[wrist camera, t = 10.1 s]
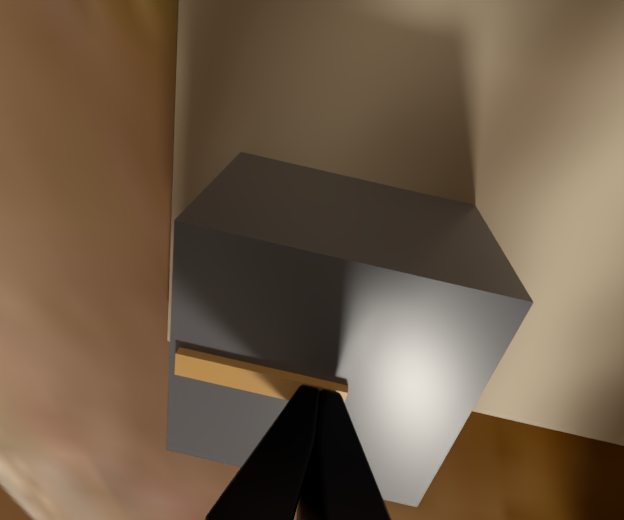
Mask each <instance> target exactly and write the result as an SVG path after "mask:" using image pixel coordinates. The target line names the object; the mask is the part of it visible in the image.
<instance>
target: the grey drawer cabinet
mask: <svg viewBox="0 0 624 520" xmlns="http://www.w3.org/2000/svg"><path fill="white" fill-rule="evenodd" d="M533 303H534V302H533V301H532V299H531V297H530V296H529V294H528V292H527V291H526V289H525V287H524V286H523V284H522V282H521V281H520V279H519V277H518V276H517V274H516V272H515V271H514V269H513V267H512V266H511V264H510V262H509V260H508V259H507V257H506V255H505V254H504V252H503V250H502V249H501V247H500V245H499V244H498V242H497V240H496V239H495V237H494V235H493V234H492V232H491V230H490V229H489V227H488V225H487V224H486V222H485V220H484V219H483V217H482V215H481V214H480V212H479V210H478V209H477V207H476V205H471V204H467V203H463V202H458V201H454V200H449V199H445V198H441V197H436V196H432V195H428V194H423V193H419V192H414V191H410V190H406V189H401V188H397V187H393V186H388V185H384V184H379V183H375V182H371V181H366V180H362V179H358V178H353V177H349V176H344V175H340V174H336V173H331V172H327V171H323V170H318V169H314V168H309V167H305V166H301V165H296V164H292V163H288V162H283V161H279V160H274V159H270V158H266V157H261V156H257V155H253V154H248V153H244V152H240V153H239V154H238V155H237V156H236V157H235V158H234V159H233V160H232V161H231V162H230V163H229V164H228V165H227V166H226V167H225V168H224V170H223V171H222V172H221V173H220V174H219V175H218V176H217V177H216V178H215V179H214V180H213V181H212V182H211V183H210V184H209V185H208V186H207V187H206V188H205V189H204V190H203V191H202V192H201V193H200V194H199V195H198V196H197V197H196V198H195V199H194V200H193V201H192V202H191V204H190V205H189V206H188V207H187V208H186V209H185V210H184V211H183V212H182V213H181V214H180V215H179V216H178V217H177V218H176V219H175V220H174V241H173V269H172V297H171V326H170V354H169V382H168V410H167V438H166V450H169V451H173V452H178V453H182V454H187V455H191V456H195V457H200V458H204V459H208V460H213V461H217V462H222V463H226V464H230V465H235V466H239V467H242V465H243V464H244V463H245V461H246V460H247V459H248V457H249V456H250V454H251V453H252V452H253V450H254V449H255V447H256V446H257V445H258V443H259V442H260V440H261V439H262V438H263V436H264V435H265V433H266V432H267V431H268V429H269V428H270V426H271V425H272V424H273V422H274V421H275V419H276V418H277V417H278V415H279V414H280V412H281V411H282V410H283V408H284V407H285V405H286V404H287V403H288V401H289V400H290V399H291V397H292V396H293V394H294V393H295V392H296V390H297V389H298V387H299V386H300V385H302V384H304V385H309V386H313V387H317V388H319V390H320V391H321V390H322V389H326V390H330V391H335V392H338V393H340V394H341V396H342V398H343V400H344V403H345V405H346V408H347V410H348V413H349V415H350V418H351V420H352V423H353V425H354V428H355V430H356V433H357V435H358V438H359V440H360V443H361V445H362V448H363V450H364V453H365V455H366V458H367V460H368V463H369V465H370V468H371V470H372V473H373V475H374V478H375V480H376V483H377V485H378V488H379V490H380V493H381V495H382V498H383V499H384V500H388V501H392V502H397V503H401V504H406V505H410V506H414V507H417V506H418V504H419V503H420V501H421V499H422V497H423V496H424V494H425V492H426V490H427V489H428V487H429V485H430V483H431V482H432V480H433V478H434V476H435V475H436V473H437V471H438V469H439V467H440V466H441V464H442V462H443V460H444V459H445V457H446V455H447V453H448V452H449V450H450V448H451V446H452V445H453V443H454V441H455V439H456V438H457V436H458V434H459V432H460V431H461V429H462V427H463V425H464V424H465V422H466V420H467V418H468V417H469V415H470V413H471V411H472V410H473V408H474V406H475V404H476V403H477V401H478V399H479V397H480V396H481V394H482V392H483V390H484V389H485V387H486V385H487V383H488V381H489V380H490V378H491V376H492V374H493V373H494V371H495V369H496V367H497V366H498V364H499V362H500V360H501V359H502V357H503V355H504V353H505V352H506V350H507V348H508V346H509V345H510V343H511V341H512V339H513V338H514V336H515V334H516V332H517V331H518V329H519V327H520V325H521V324H522V322H523V320H524V318H525V317H526V315H527V313H528V311H529V310H530V308H531V306H532V304H533Z"/></svg>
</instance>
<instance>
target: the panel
mask: <svg viewBox="0 0 624 520" xmlns="http://www.w3.org/2000/svg"><path fill="white" fill-rule="evenodd" d="M240 152H244V153H248V154H253V155H257V156H261V157H266V158H270V159H274V160H279V161H283V162H288V163H292V164H296V165H301V166H305V167H309V168H314V169H318V170H323V171H327V172H331V173H336V174H340V175H344V176H349V177H353V178H358V179H362V180H366V181H371V182H375V183H379V184H384V185H388V186H393V187H397V188H401V189H406V190H410V191H414V192H419V193H423V194H428V195H432V196H436V197H441V198H445V199H449V200H454V201H458V202H463V203H467V204H471V205H476V207H477V209H478V210H479V212H480V214H481V215H482V217H483V219H484V220H485V222H486V224H487V225H488V227H489V229H490V230H491V232H492V234H493V235H494V237H495V239H496V240H497V242H498V244H499V245H500V247H501V249H502V250H503V252H504V254H505V255H506V257H507V259H508V260H509V262H510V264H511V266H512V267H513V269H514V271H515V272H516V274H517V276H518V277H519V279H520V281H521V282H522V284H523V286H524V287H525V289H526V291H527V292H528V294H529V296H530V297H531V299H532V301H533V302H534V303H533V304H532V306H531V308H530V310H529V311H528V313H527V315H526V317H525V318H524V320H523V322H522V324H521V325H520V327H519V329H518V331H517V332H516V334H515V336H514V338H513V339H512V341H511V343H510V345H509V346H508V348H507V350H506V352H505V353H504V355H503V357H502V359H501V360H500V362H499V364H498V366H497V367H496V369H495V371H494V373H493V374H492V376H491V378H490V380H489V381H488V383H487V385H486V387H485V389H484V390H483V392H482V394H481V396H480V397H479V399H478V401H477V403H476V404H475V406H474V408H473V410H472V411H474V412H479V413H483V414H487V415H492V416H496V417H500V418H505V419H509V420H513V421H518V422H522V423H526V424H531V425H535V426H539V427H544V428H548V429H553V430H557V431H561V432H566V433H570V434H574V435H579V436H583V437H587V438H592V439H596V440H600V441H605V442H609V443H614V444H618V445H622V446H624V0H179V9H178V39H177V69H176V99H175V129H174V159H173V189H172V219H171V249H170V278H169V308H168V338H167V341H169V342H170V326H171V297H172V269H173V241H174V220H175V219H176V218H177V217H178V216H179V215H180V214H181V213H182V212H183V211H184V210H185V209H186V208H187V207H188V206H189V205H190V204H191V202H192V201H193V200H194V199H195V198H196V197H197V196H198V195H199V194H200V193H201V192H202V191H203V190H204V189H205V188H206V187H207V186H208V185H209V184H210V183H211V182H212V181H213V180H214V179H215V178H216V177H217V176H218V175H219V174H220V173H221V172H222V171H223V170H224V168H225V167H226V166H227V165H228V164H229V163H230V162H231V161H232V160H233V159H234V158H235V157H236V156H237V155H238V154H239V153H240Z"/></svg>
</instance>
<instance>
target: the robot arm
mask: <svg viewBox="0 0 624 520" xmlns="http://www.w3.org/2000/svg"><path fill="white" fill-rule="evenodd" d="M297 505H298V506H297ZM296 509H297V520H391V518H390V515H389V513H388V510H387V508H386V505H385V503H384V500H383V498H382V495H381V493H380V490H379V488H378V485H377V483H376V480H375V478H374V475H373V473H372V470H371V468H370V465H369V463H368V460H367V458H366V455H365V453H364V450H363V448H362V445H361V443H360V440H359V438H358V435H357V433H356V430H355V428H354V425H353V423H352V420H351V418H350V415H349V413H348V410H347V408H346V405H345V403H344V400H343V398H342V396H341V394H340V393H338V392H335V391H330V390H326V389H322V390H321V391H320V390H319V388H317V387H313V386H309V385H304V384H302V385H300V386H299V387H298V389H297V390H296V392H295V393H294V394H293V396H292V397H291V399H290V400H289V401H288V403H287V404H286V405H285V407H284V408H283V410H282V411H281V412H280V414H279V415H278V417H277V418H276V419H275V421H274V422H273V424H272V425H271V426H270V428H269V429H268V431H267V432H266V433H265V435H264V436H263V438H262V439H261V440H260V442H259V443H258V445H257V446H256V447H255V449H254V450H253V452H252V453H251V454H250V456H249V457H248V459H247V460H246V461H245V463H244V464H243V465H242V467H241V468H240V470H239V471H238V472H237V474H236V475H235V477H234V478H233V479H232V481H231V482H230V484H229V485H228V486H227V488H226V489H225V491H224V492H223V493H222V495H221V496H220V498H219V499H218V500H217V502H216V503H215V505H214V506H213V507H212V509H211V510H210V512H209V513H208V514H207V516H206V518H205V520H293V519H294V516H295V512H296Z"/></svg>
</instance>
